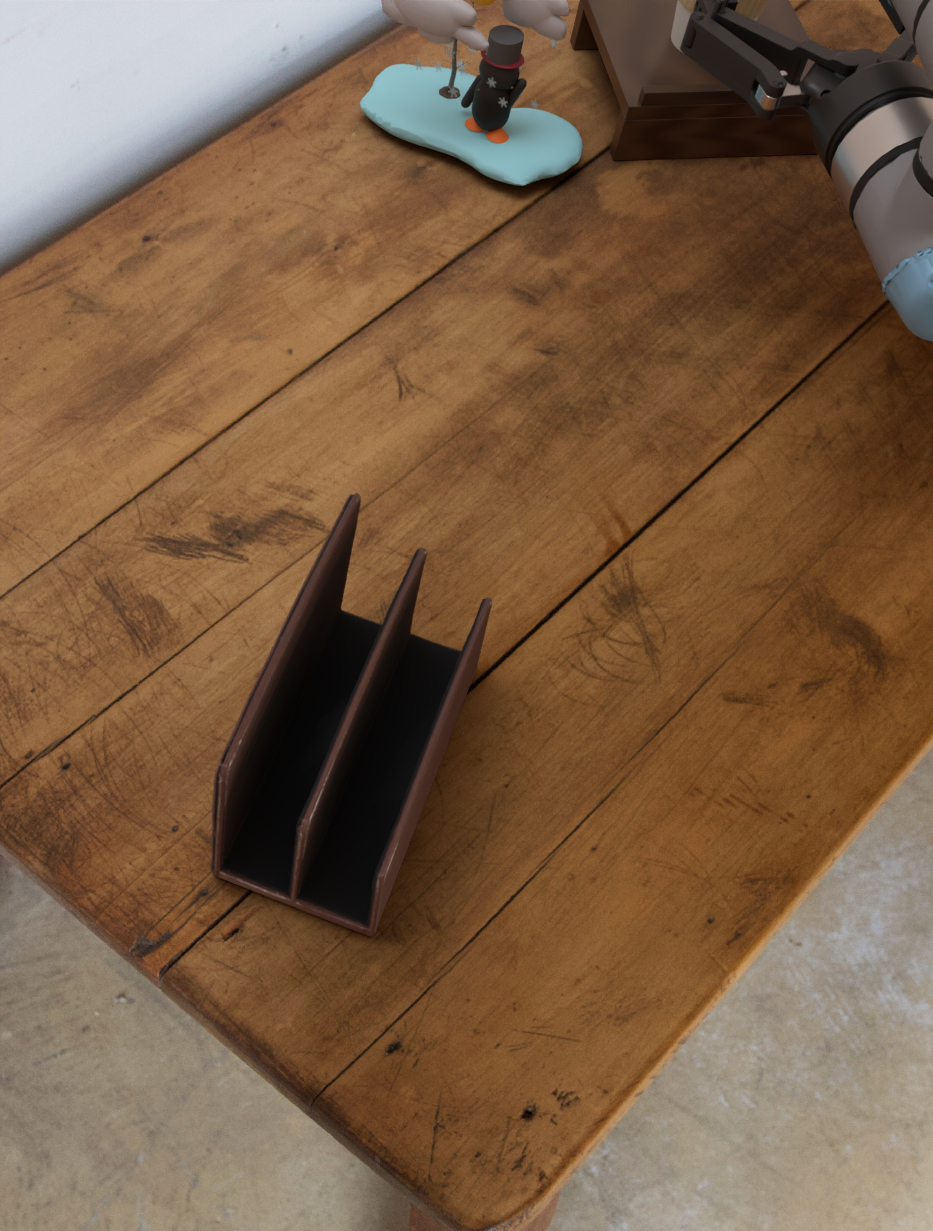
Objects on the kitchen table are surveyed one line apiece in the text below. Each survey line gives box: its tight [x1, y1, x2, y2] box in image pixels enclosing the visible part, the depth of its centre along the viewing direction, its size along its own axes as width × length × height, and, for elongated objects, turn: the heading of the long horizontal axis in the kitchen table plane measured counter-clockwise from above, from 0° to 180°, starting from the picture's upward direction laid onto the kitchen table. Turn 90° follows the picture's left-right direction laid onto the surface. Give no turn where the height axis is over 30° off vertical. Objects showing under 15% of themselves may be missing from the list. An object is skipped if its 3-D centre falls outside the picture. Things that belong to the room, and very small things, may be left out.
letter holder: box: [210, 492, 493, 938], centre depth 70 cm, size 10×20×14 cm, turn 157°
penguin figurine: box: [359, 0, 584, 187], centre depth 103 cm, size 20×11×15 cm, turn 50°
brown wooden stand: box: [569, 0, 819, 161], centre depth 110 cm, size 18×18×6 cm
